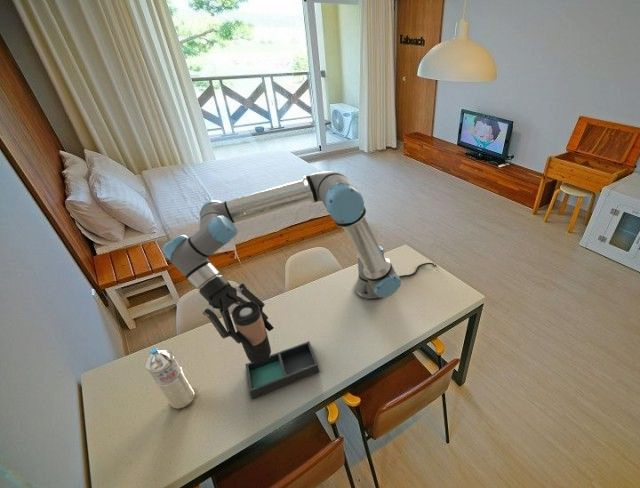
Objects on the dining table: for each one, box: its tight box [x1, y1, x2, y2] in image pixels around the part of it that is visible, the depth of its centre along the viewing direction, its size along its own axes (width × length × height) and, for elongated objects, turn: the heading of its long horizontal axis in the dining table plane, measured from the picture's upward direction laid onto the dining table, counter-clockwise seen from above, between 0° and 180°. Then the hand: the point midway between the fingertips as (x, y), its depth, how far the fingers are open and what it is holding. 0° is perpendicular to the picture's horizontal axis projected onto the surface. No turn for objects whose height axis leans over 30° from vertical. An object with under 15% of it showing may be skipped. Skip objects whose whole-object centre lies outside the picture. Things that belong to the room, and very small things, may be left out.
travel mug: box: [231, 301, 272, 363], centre depth 99 cm, size 8×8×20 cm
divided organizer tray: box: [245, 340, 320, 400], centre depth 113 cm, size 22×12×4 cm, turn 118°
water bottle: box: [144, 347, 196, 410], centre depth 97 cm, size 7×7×25 cm
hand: (261, 338), depth 98 cm, fingers closed on travel mug, 7 cm apart
